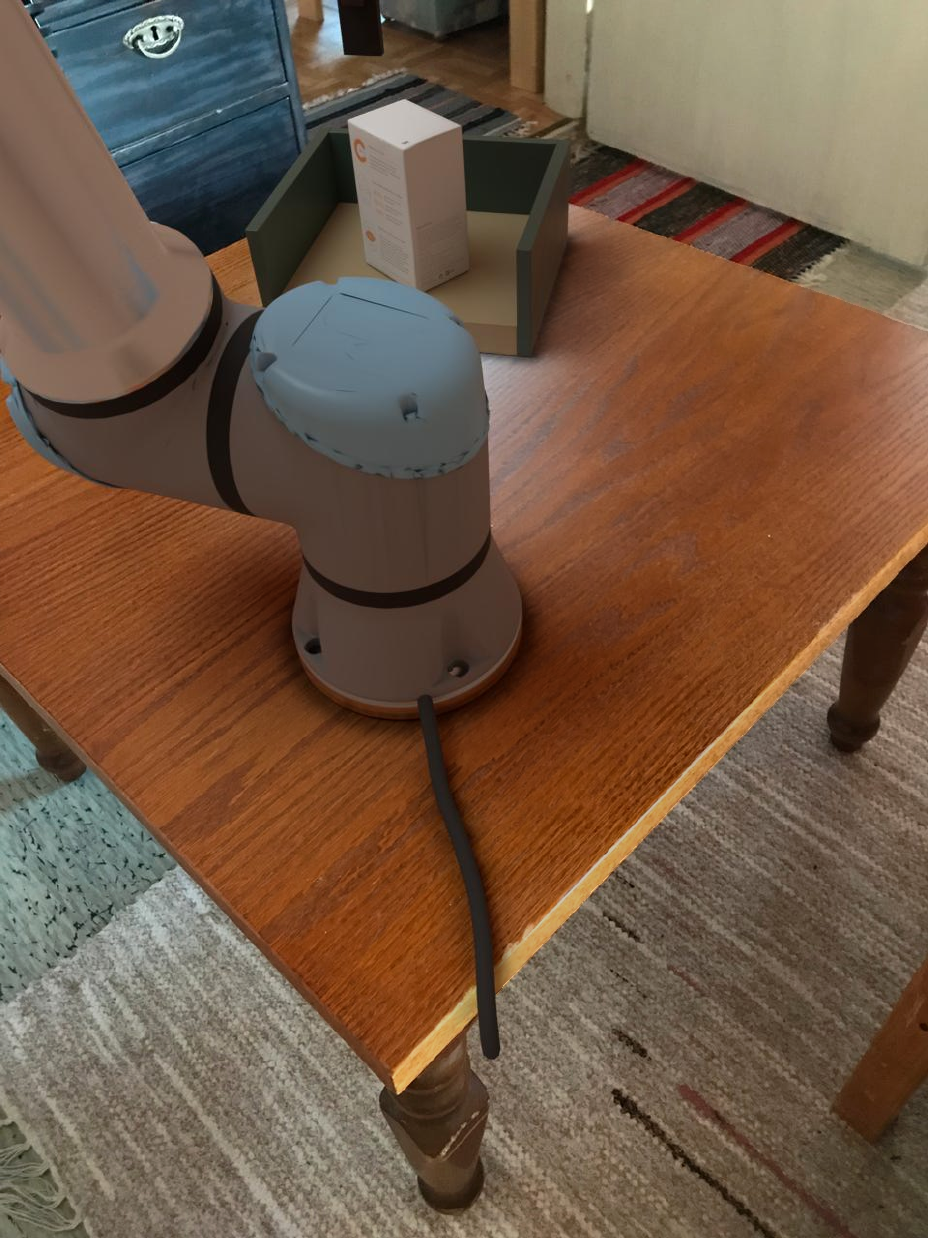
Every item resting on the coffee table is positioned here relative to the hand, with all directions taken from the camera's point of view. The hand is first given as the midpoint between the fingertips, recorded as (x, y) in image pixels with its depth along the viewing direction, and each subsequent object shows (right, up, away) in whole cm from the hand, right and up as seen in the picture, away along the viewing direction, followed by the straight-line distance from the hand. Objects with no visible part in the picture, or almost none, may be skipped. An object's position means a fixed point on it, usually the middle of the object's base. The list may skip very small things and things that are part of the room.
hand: (390, 20), depth 73 cm
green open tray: (+2, -12, +22) cm, 25 cm away
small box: (+1, -12, +19) cm, 22 cm away
